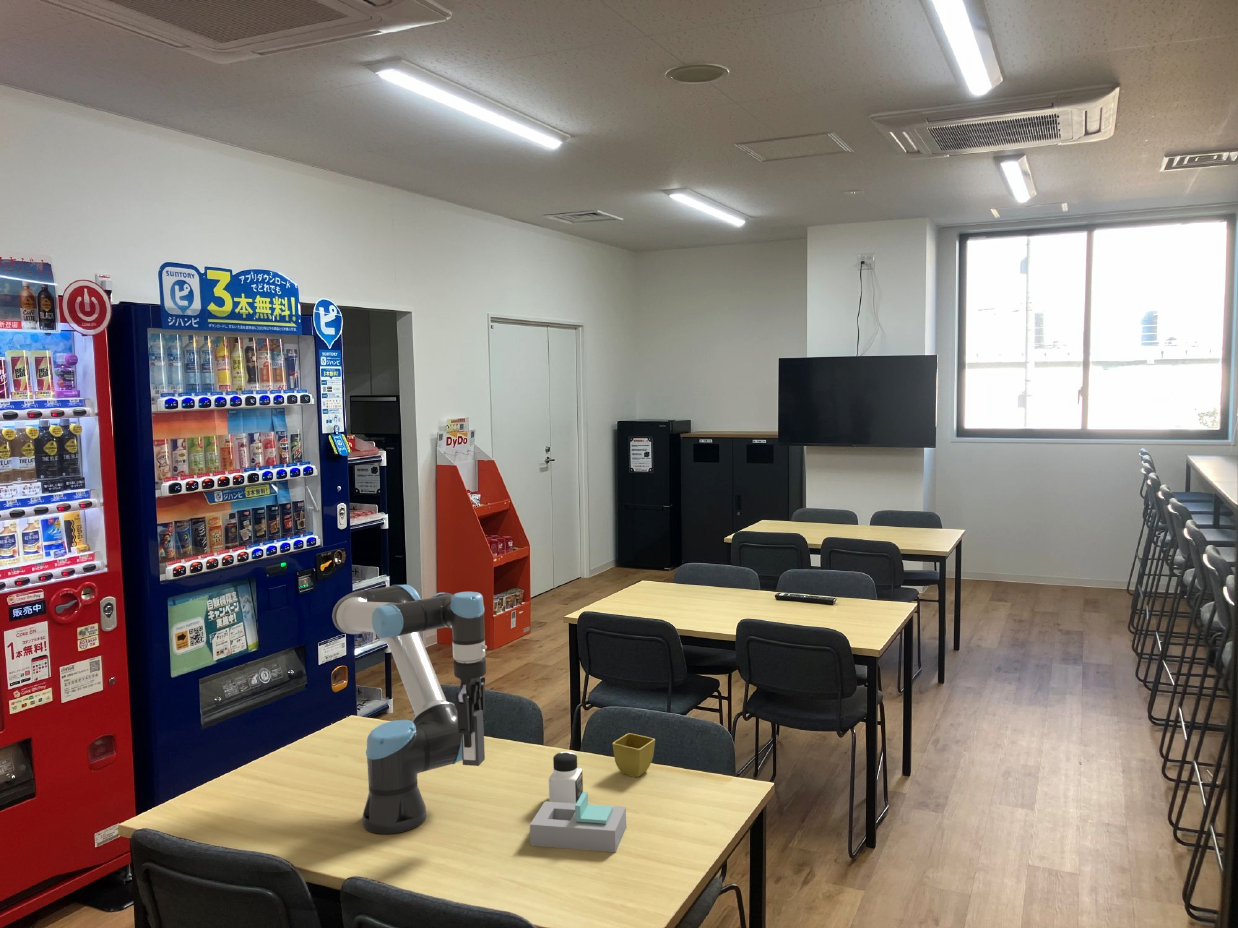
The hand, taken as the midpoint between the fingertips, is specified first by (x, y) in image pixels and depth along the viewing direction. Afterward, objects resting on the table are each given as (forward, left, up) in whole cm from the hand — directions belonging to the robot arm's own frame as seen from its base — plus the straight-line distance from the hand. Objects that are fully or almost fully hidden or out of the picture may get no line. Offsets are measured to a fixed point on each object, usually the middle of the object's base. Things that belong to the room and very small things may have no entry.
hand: (473, 755), depth 217 cm
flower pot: (+31, +38, -19) cm, 52 cm away
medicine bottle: (+17, +19, -19) cm, 32 cm away
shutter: (+29, +1, -13) cm, 32 cm away
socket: (+25, +1, -18) cm, 31 cm away
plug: (0, 0, -2) cm, 2 cm away
